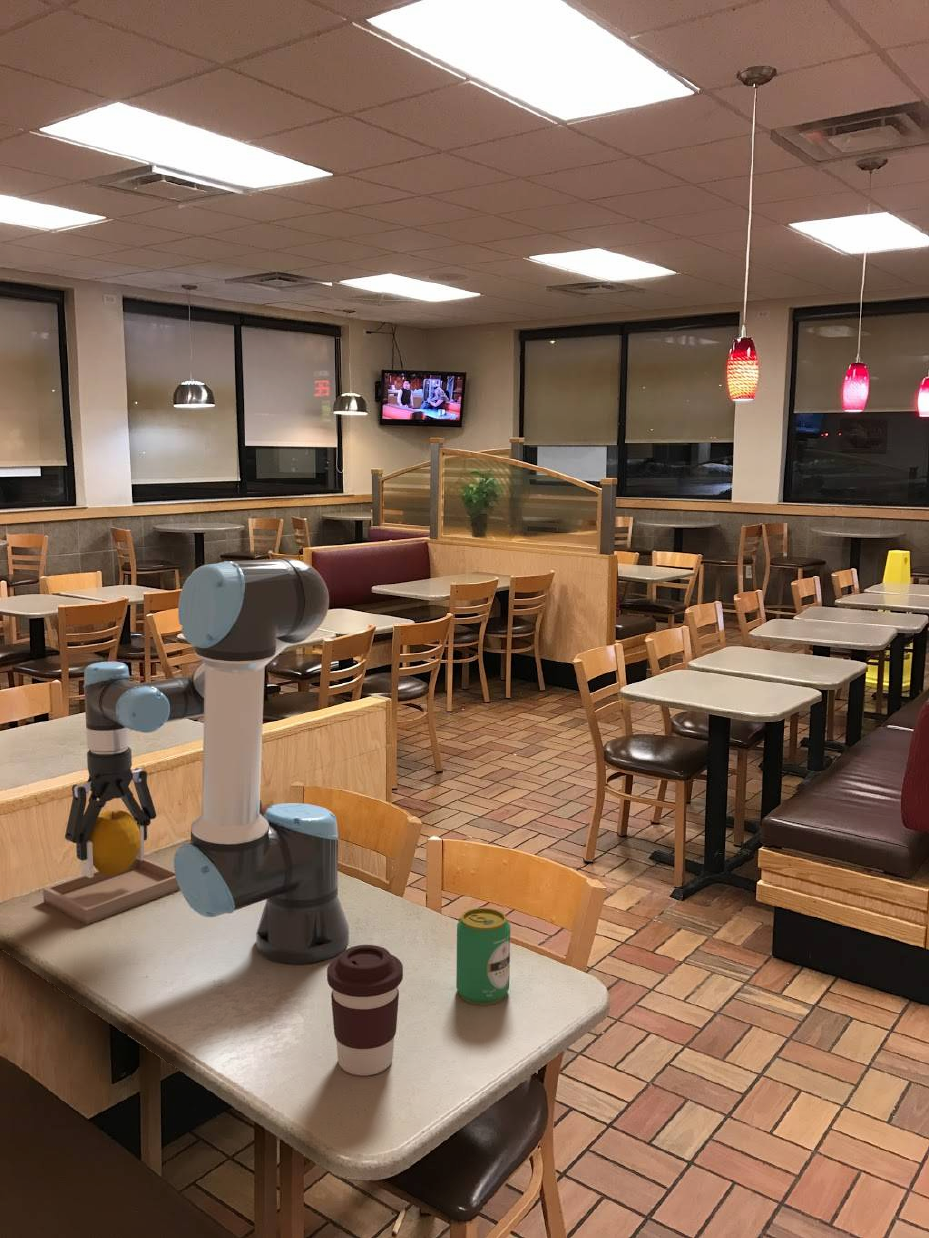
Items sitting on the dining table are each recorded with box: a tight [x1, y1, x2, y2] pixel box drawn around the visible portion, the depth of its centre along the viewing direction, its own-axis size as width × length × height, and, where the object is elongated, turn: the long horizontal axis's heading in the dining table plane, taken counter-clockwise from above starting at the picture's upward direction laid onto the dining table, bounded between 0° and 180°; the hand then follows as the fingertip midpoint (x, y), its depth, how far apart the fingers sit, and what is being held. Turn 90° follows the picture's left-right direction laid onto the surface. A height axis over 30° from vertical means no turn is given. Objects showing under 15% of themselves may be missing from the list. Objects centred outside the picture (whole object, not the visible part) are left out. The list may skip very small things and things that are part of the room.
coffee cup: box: [326, 944, 404, 1077], centre depth 134 cm, size 10×10×15 cm
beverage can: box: [455, 907, 511, 1006], centre depth 152 cm, size 8×8×12 cm
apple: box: [89, 809, 141, 875], centre depth 185 cm, size 10×10×12 cm
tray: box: [42, 857, 181, 925], centre depth 186 cm, size 20×14×3 cm
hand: (113, 866), depth 185 cm, fingers closed on apple, 10 cm apart
